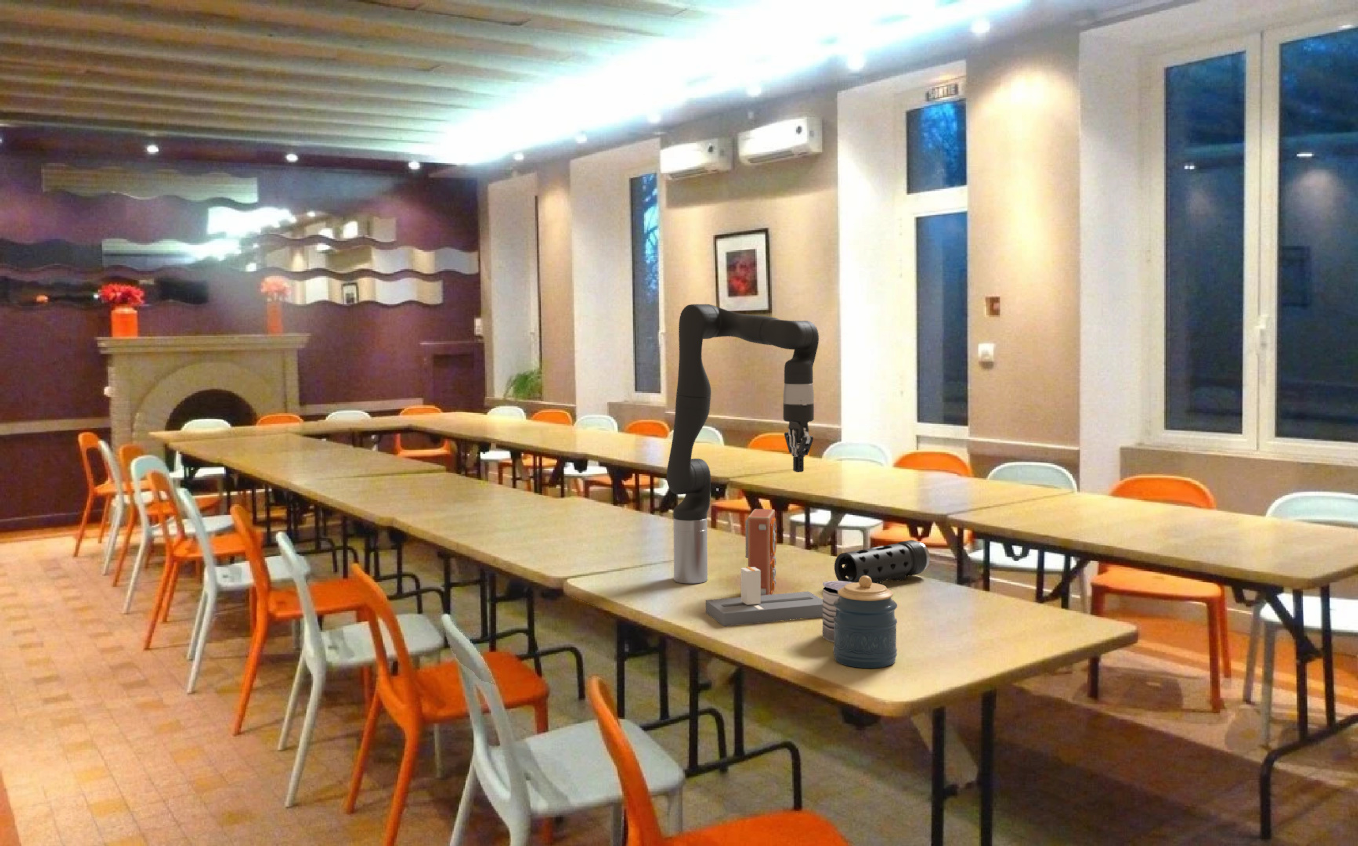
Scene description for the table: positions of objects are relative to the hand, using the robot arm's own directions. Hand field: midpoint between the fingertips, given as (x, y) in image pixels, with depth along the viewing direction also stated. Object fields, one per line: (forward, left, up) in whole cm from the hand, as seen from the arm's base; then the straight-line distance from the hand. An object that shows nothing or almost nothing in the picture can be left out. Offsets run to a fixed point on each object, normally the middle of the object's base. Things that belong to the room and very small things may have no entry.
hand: (798, 471), depth 269 cm
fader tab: (+8, -16, -30) cm, 35 cm away
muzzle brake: (-12, +30, -33) cm, 46 cm away
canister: (+48, -6, -33) cm, 59 cm away
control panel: (-10, -6, -33) cm, 35 cm away
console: (+8, -12, -33) cm, 36 cm away
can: (+32, -2, -33) cm, 46 cm away
